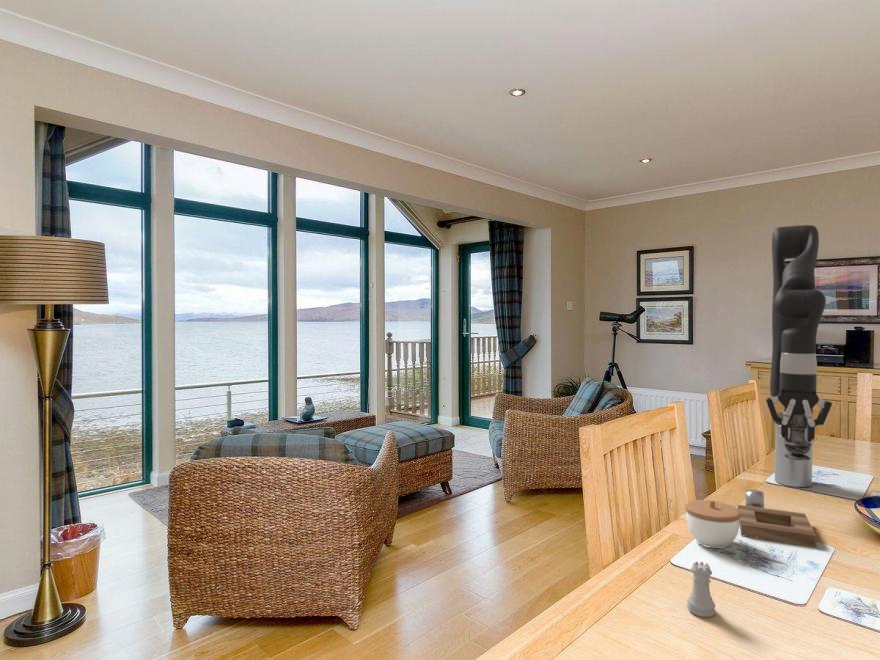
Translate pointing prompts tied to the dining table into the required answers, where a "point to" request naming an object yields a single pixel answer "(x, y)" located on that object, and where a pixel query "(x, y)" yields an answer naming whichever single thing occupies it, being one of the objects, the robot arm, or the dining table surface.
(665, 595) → the dining table surface
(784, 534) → the hole board
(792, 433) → the dark chess piece
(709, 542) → the lidded jar
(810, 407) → the robot arm
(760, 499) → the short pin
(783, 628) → the dining table surface
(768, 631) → the dining table surface
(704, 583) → the rook chess piece
